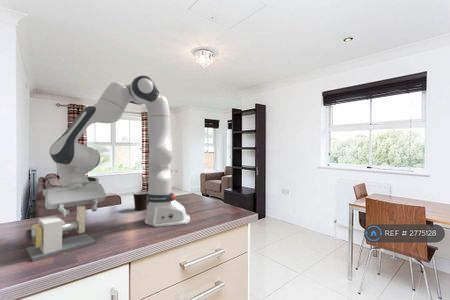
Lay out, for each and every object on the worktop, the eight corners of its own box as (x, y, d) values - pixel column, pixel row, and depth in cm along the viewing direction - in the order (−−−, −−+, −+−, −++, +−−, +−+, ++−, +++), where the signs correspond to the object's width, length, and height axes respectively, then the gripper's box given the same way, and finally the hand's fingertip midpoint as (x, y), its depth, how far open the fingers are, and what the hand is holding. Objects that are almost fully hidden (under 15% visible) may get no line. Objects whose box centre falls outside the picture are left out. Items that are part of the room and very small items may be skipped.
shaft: (82, 230, 87) (82, 204, 87) (84, 232, 85) (85, 206, 85) (31, 242, 75) (31, 213, 75) (33, 244, 73) (33, 214, 73)
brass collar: (37, 241, 78) (38, 223, 78) (41, 246, 74) (42, 227, 74) (32, 242, 77) (32, 224, 77) (35, 247, 73) (36, 229, 73)
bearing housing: (85, 235, 92) (86, 209, 92) (95, 243, 84) (96, 214, 84) (26, 250, 78) (26, 219, 78) (32, 261, 70) (32, 227, 70)
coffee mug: (135, 207, 137) (135, 191, 137) (149, 207, 137) (150, 191, 137) (129, 212, 125) (129, 195, 125) (144, 212, 126) (144, 195, 126)
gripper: (43, 182, 82) (49, 214, 76) (102, 177, 98) (111, 203, 91) (40, 192, 85) (45, 224, 79) (98, 186, 100) (106, 212, 94)
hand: (81, 212), depth 85 cm, fingers open, 8 cm apart
